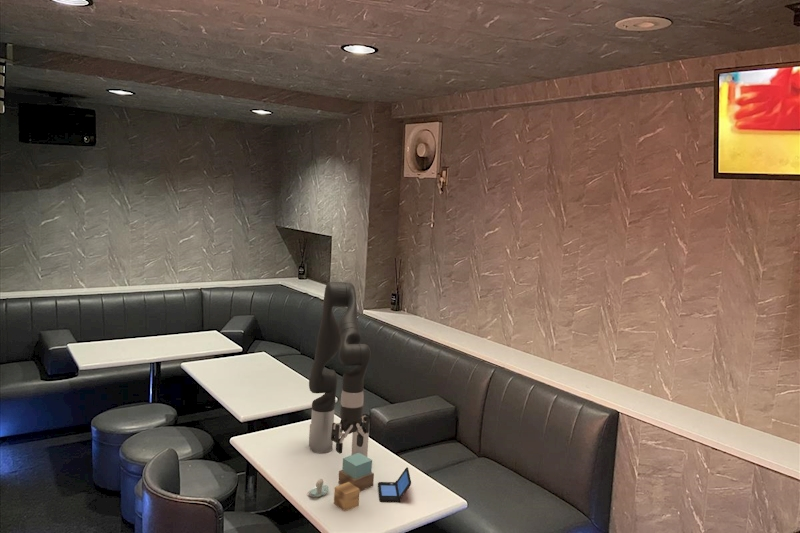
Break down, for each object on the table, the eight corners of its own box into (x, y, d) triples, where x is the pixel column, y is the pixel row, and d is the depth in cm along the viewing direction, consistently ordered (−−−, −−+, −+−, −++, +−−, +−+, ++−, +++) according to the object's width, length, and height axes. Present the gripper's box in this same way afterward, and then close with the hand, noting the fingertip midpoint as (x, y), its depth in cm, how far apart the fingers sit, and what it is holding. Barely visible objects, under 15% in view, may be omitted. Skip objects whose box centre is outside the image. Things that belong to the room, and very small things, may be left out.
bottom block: (338, 483, 204) (339, 470, 204) (357, 476, 210) (358, 464, 210) (353, 494, 198) (354, 480, 197) (373, 486, 204) (373, 473, 203)
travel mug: (365, 469, 216) (368, 419, 214) (348, 466, 218) (351, 417, 215) (369, 462, 222) (372, 413, 220) (353, 459, 224) (356, 411, 221)
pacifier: (303, 495, 195) (314, 501, 191) (303, 478, 195) (315, 483, 191) (319, 488, 201) (330, 494, 197) (320, 471, 200) (331, 476, 196)
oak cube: (333, 503, 191) (334, 487, 190) (347, 498, 195) (348, 481, 194) (344, 511, 186) (345, 494, 186) (358, 505, 190) (359, 488, 190)
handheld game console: (377, 484, 205) (378, 465, 205) (406, 485, 206) (407, 466, 206) (379, 503, 193) (380, 482, 192) (410, 503, 194) (411, 483, 193)
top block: (342, 471, 204) (342, 458, 203) (358, 465, 209) (358, 452, 208) (355, 479, 198) (356, 465, 198) (371, 473, 204) (372, 460, 203)
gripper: (361, 395, 194) (358, 440, 196) (327, 403, 184) (325, 450, 186) (375, 401, 189) (372, 448, 190) (341, 410, 179) (339, 459, 181)
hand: (349, 449), depth 188 cm, fingers open, 8 cm apart
